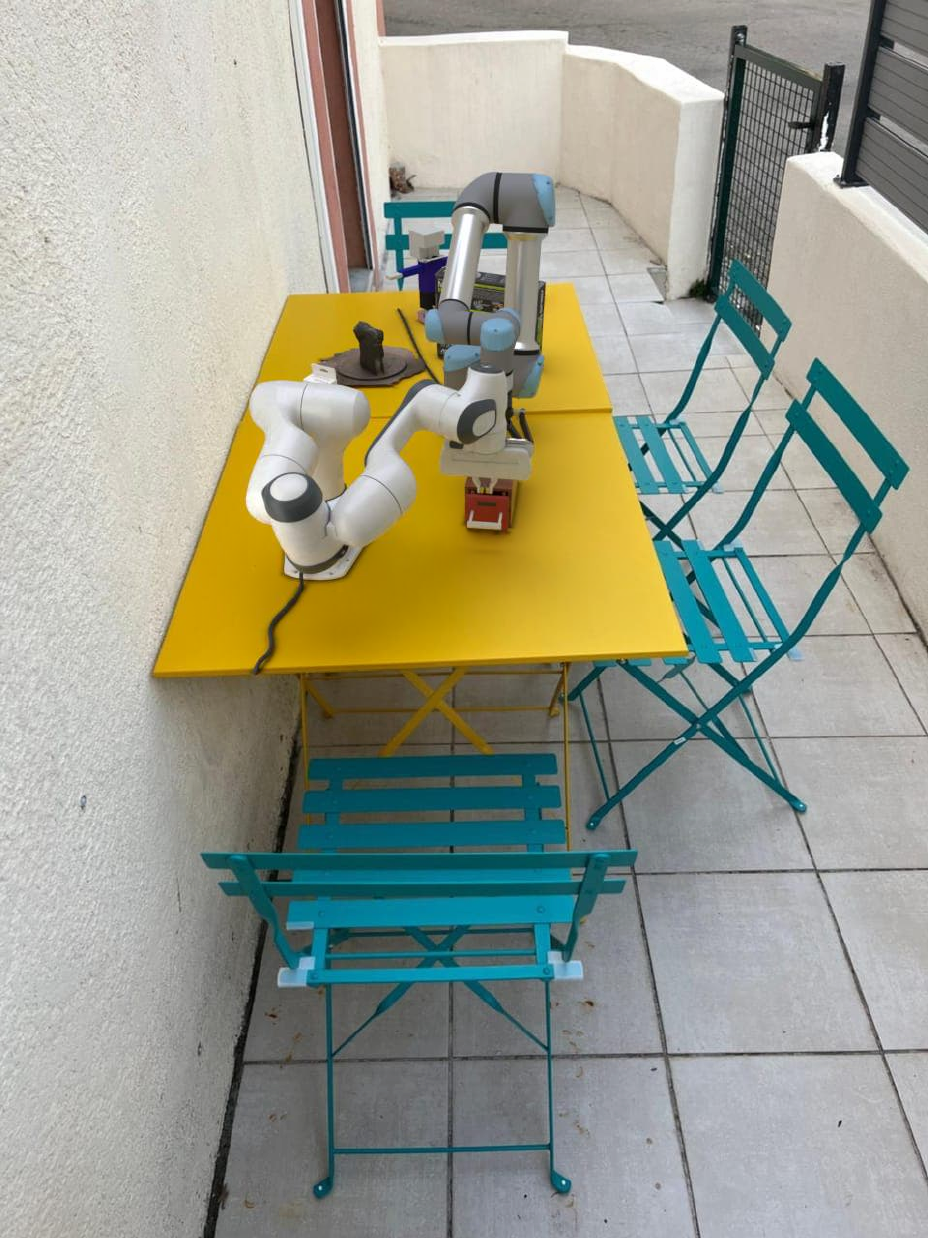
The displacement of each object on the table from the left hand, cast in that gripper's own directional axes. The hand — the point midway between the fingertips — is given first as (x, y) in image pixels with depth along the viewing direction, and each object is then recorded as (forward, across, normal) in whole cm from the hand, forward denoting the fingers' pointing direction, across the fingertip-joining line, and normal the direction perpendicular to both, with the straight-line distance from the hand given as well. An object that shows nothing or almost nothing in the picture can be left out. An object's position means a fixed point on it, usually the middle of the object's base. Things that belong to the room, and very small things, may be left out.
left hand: (485, 492), depth 198 cm
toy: (+13, +34, -129) cm, 134 cm away
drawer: (+12, 0, -10) cm, 16 cm away
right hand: (+7, 0, -22) cm, 23 cm away
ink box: (+13, +53, -55) cm, 77 cm away
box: (+13, +10, -98) cm, 99 cm away
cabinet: (+13, 0, -16) cm, 21 cm away
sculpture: (+13, +47, -88) cm, 101 cm away
